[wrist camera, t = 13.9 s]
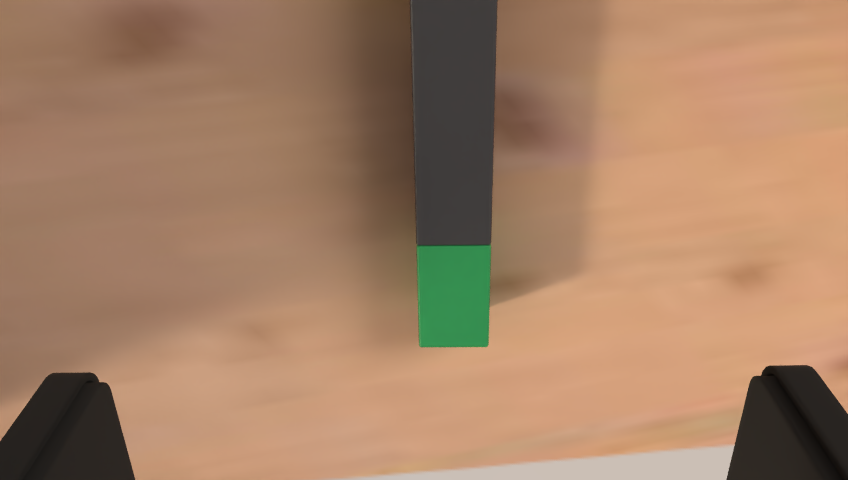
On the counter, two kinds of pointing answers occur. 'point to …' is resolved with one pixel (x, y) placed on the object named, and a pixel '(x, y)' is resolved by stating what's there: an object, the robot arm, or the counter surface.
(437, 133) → the marker
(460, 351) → the counter surface
